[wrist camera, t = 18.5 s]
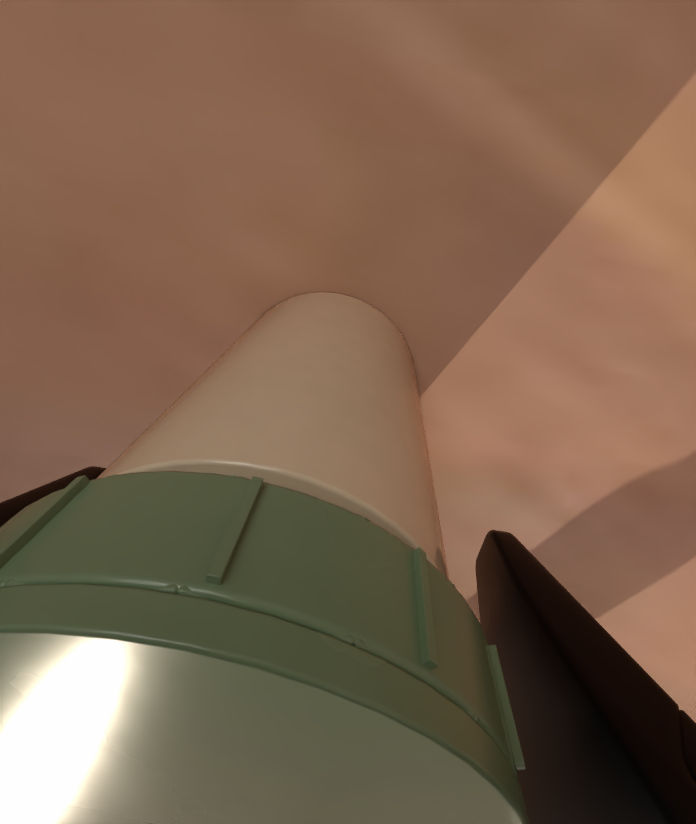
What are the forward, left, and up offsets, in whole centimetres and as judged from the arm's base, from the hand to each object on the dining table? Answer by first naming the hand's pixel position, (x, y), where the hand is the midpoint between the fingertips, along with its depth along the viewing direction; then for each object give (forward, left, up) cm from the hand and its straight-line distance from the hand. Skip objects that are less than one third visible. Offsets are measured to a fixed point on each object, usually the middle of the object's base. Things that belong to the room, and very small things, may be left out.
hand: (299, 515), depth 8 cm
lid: (0, 0, +4) cm, 4 cm away
